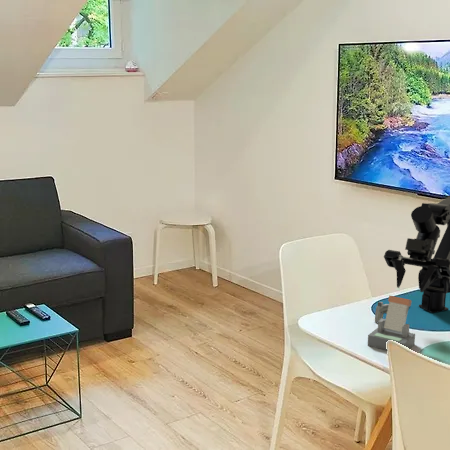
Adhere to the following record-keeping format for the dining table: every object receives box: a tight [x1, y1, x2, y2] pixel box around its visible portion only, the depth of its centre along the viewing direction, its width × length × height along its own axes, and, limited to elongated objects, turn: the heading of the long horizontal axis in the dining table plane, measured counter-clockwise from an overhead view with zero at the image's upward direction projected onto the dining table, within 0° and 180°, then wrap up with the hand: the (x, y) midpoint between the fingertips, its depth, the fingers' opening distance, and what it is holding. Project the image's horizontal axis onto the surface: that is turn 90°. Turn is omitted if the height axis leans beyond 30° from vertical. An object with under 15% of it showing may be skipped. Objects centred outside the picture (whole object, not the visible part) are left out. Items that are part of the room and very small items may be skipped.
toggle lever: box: [384, 295, 413, 332], centre depth 193 cm, size 2×6×9 cm, turn 56°
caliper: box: [374, 301, 389, 324], centre depth 215 cm, size 20×1×6 cm, turn 141°
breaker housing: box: [367, 318, 416, 351], centre depth 192 cm, size 8×10×6 cm
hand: (409, 289), depth 199 cm, fingers open, 6 cm apart
